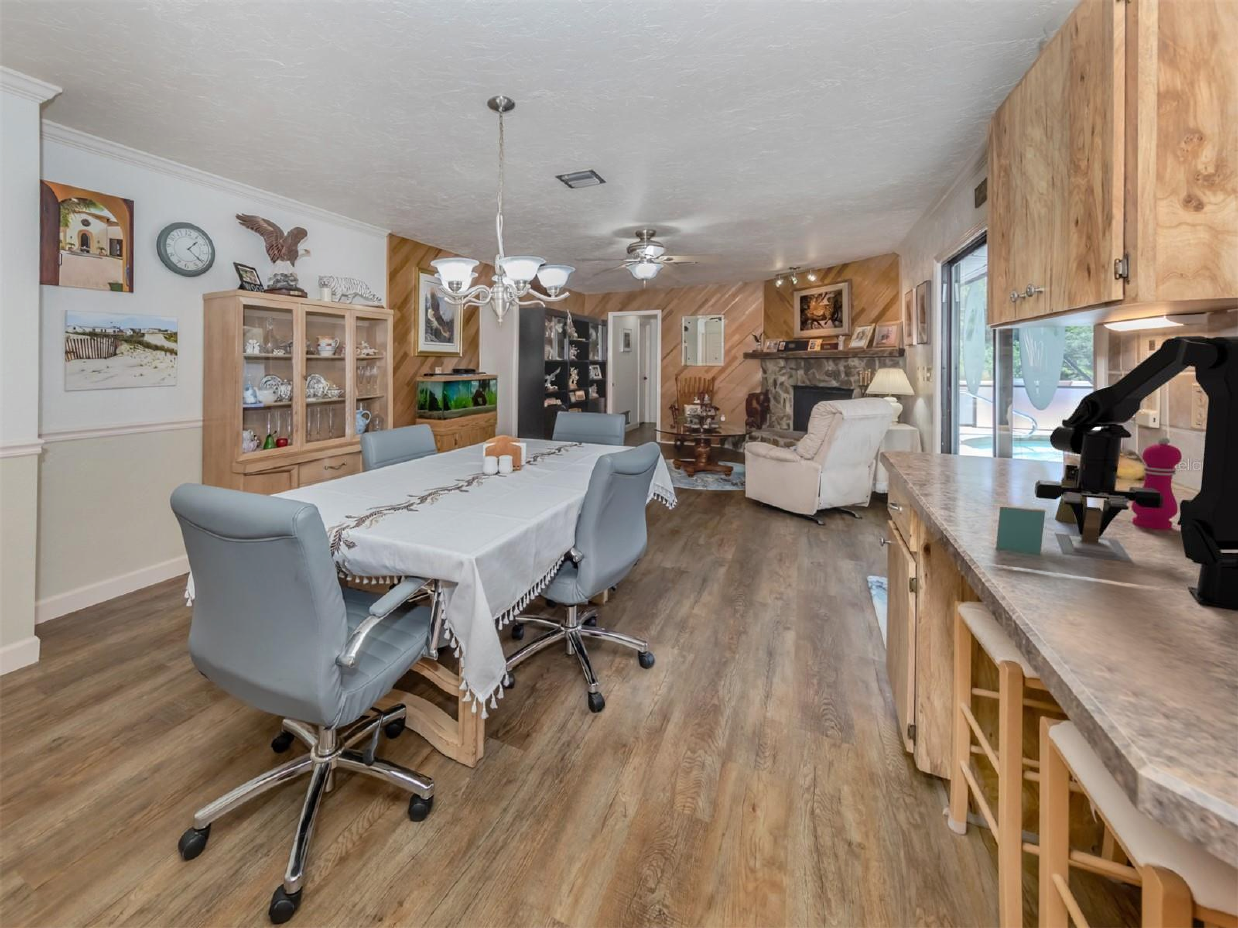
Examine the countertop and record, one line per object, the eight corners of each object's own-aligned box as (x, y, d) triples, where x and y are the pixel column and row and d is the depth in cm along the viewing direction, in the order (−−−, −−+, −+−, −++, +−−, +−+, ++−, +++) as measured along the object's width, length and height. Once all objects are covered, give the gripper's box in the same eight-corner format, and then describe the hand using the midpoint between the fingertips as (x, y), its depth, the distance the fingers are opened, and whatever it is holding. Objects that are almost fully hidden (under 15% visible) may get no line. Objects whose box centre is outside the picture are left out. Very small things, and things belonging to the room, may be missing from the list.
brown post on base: (1115, 556, 103) (1120, 519, 101) (1074, 550, 106) (1078, 515, 105) (1107, 542, 110) (1111, 508, 109) (1068, 538, 113) (1072, 505, 112)
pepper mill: (1159, 533, 116) (1173, 440, 113) (1120, 524, 123) (1132, 436, 120) (1183, 530, 118) (1197, 438, 115) (1143, 521, 125) (1155, 434, 122)
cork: (1048, 521, 127) (1053, 474, 125) (1063, 517, 130) (1068, 471, 128) (1079, 527, 122) (1084, 479, 120) (1094, 523, 124) (1100, 476, 122)
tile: (1040, 556, 105) (1045, 511, 103) (995, 551, 109) (1000, 506, 107) (1039, 554, 106) (1044, 509, 104) (995, 549, 110) (1000, 505, 108)
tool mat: (1133, 565, 99) (1133, 562, 99) (1062, 556, 105) (1062, 553, 105) (1117, 542, 112) (1117, 540, 111) (1054, 535, 117) (1054, 533, 117)
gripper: (1154, 455, 109) (1143, 531, 112) (1036, 450, 119) (1029, 519, 122) (1169, 464, 100) (1157, 546, 103) (1040, 457, 110) (1032, 532, 113)
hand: (1089, 535), depth 110 cm, fingers closed on brown post on base, 2 cm apart
